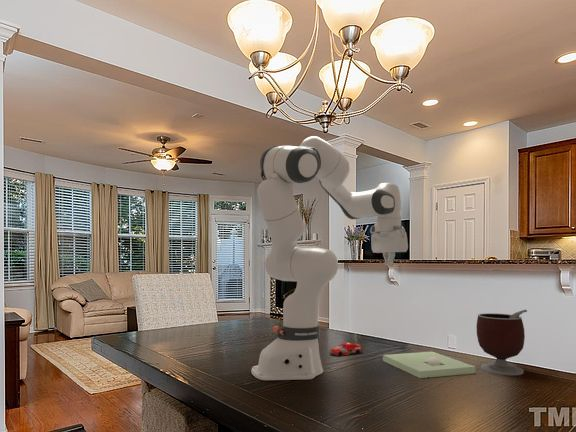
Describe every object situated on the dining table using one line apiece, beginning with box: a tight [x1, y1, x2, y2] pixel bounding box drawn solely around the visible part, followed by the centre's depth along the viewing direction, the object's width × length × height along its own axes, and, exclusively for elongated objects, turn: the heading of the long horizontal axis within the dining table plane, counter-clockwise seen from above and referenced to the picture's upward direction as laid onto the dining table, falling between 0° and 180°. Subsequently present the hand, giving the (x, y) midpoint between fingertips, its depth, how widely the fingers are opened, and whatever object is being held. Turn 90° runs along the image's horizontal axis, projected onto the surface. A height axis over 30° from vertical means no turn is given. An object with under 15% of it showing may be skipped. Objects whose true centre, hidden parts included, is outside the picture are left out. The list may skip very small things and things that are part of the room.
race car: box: [329, 342, 363, 357], centre depth 158 cm, size 13×5×4 cm, turn 116°
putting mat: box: [382, 351, 477, 379], centre depth 139 cm, size 20×22×2 cm
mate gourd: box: [476, 309, 528, 376], centre depth 136 cm, size 16×14×20 cm
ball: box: [427, 357, 441, 366], centre depth 136 cm, size 4×4×4 cm
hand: (389, 265), depth 154 cm, fingers closed
